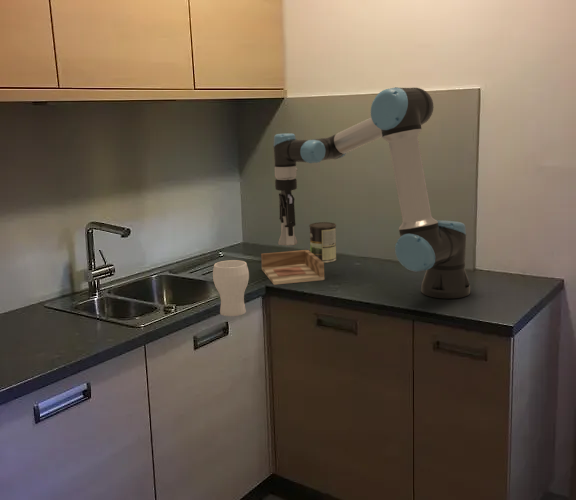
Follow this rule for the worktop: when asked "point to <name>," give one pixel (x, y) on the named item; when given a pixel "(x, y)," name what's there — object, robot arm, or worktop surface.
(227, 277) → the cup
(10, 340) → the worktop surface
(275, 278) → the tray
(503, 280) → the worktop surface
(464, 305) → the worktop surface
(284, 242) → the flask
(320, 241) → the coffee can
